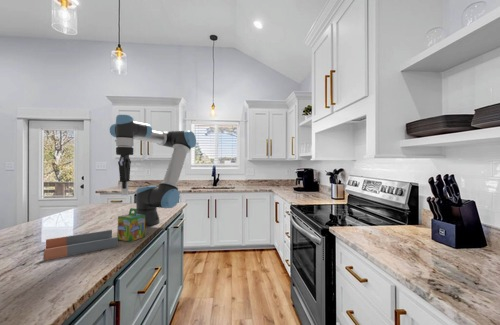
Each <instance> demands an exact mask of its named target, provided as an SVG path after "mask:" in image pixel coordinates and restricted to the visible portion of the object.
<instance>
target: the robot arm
mask: <svg viewBox="0 0 500 325" xmlns="http://www.w3.org/2000/svg"><path fill="white" fill-rule="evenodd" d="M109 134H110V135H111V137H113V138H115V140H114V142H115V146H116V148H115V154H116V155H117V156H119V159H118V160H119V161H117V162H118V164H117V165H118V170H119V171H118V173H119V183H121V184H120V185H121V193H120V194H121V196H128V195H129V182H131V180H130V178H131V177H130V176H131V164H132V161H131V158H130V156H134V140H136V141H142V142H149V143H155V144H157V145H158V146H162V147H166V148H167V147H168V148H172V149H173V151H172V154H171V158H170V161H169V164H168V165H167V168H166V172H165V175H164V178H163V181H162V182H160V183H159V184H158V186H157V185H149V186H147V185H146V186H142V187H138V188H137V189H136V194H135V196H136V198H135V200H136V203H135V204H136V205H135V206H136V208H135V209H137V213H136V214H143V215H145V227H147V226H148V227H149V226H154V225H157V224H159V223H160V216H159V214H158V210H157V208H159V209H172V208H174V207H175V206H177V204H178V203H179V201H180V199H181V198H180V197H181V195H180V191H179V187H178V186H177V185H178V183H179V179H180V176H181V173H182V169H183V167H184V163H185V160H186V157H187V154H188V153H190V152H191V149H194V148H196V146H197V138H196V135H195V133H194V132H193V131H192V130H171V131H170V130H169V131H163V130H160V131H157V130H153V127H152V126H151V124H149V123H146V122H142V121H141V122H140V121H135V120H134V116H133V115H130V114H118V115H116V117H115V123H114V124H112V125H110V127H109Z"/></svg>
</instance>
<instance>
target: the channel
mask: <svg viewBox="0 0 500 325" xmlns="http://www.w3.org/2000/svg"><path fill="white" fill-rule="evenodd" d="M118 242H119V241H118V237H117V236H115V237H113V230H112V229H107V230H99V231H93V232H87V233H80V234H74V235H68V236H60V237H54V238H46V239H45V249H44V250H43V251H44V254H43V256H44V257H43V260H44V261H47V260H53V259H54V260H55V259H58V258H64V257H68V256H73V255H79V254H84V253H90V252H95V251H99V250H100V251H101V250H105V249H110V248H116V247H118V246H119V245H118V244H119V243H118Z"/></svg>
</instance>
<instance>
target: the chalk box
mask: <svg viewBox="0 0 500 325" xmlns="http://www.w3.org/2000/svg"><path fill="white" fill-rule="evenodd" d="M132 212H133V213H132ZM136 213H137V209H136V208H132V207H131V208H129V212H128V213H127V214H124V215H119V216H117V236H116V237H118V240H119V241H124V242H127V243H132V242H134V241H137V240H139V239H143V238H146V226H145V215H143V214H136Z"/></svg>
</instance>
